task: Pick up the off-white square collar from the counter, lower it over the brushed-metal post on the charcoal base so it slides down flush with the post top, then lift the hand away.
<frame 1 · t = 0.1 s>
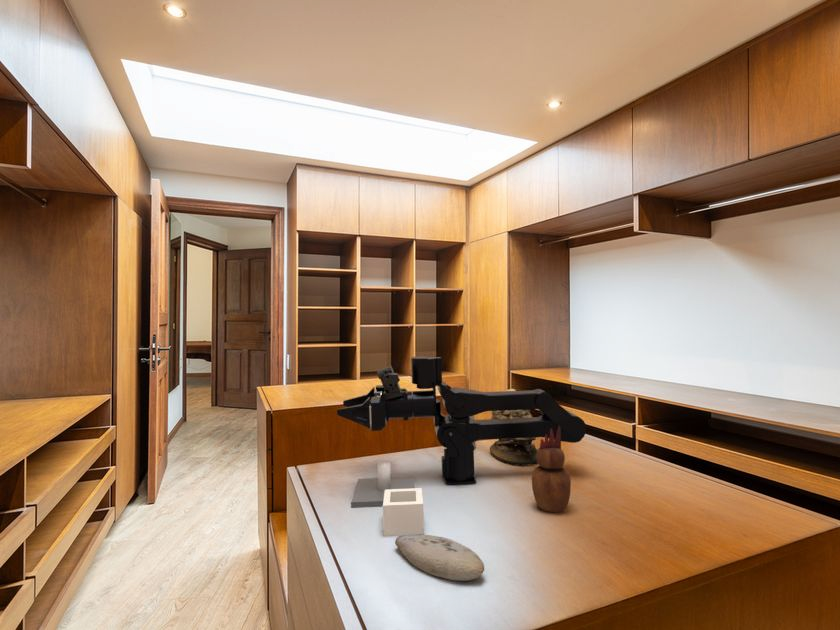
hand: (340, 407, 94), 17 cm above the closet island, tool horizontal, fingers open, 9 cm apart
decorative stone: (438, 567, 63), on the closet island
collar: (404, 525, 75), on the closet island
skincare box: (465, 451, 115), on the closet island
owl figurine: (515, 456, 110), on the closet island
wooden figurine: (551, 509, 80), on the closet island
post stand: (384, 493, 89), on the closet island
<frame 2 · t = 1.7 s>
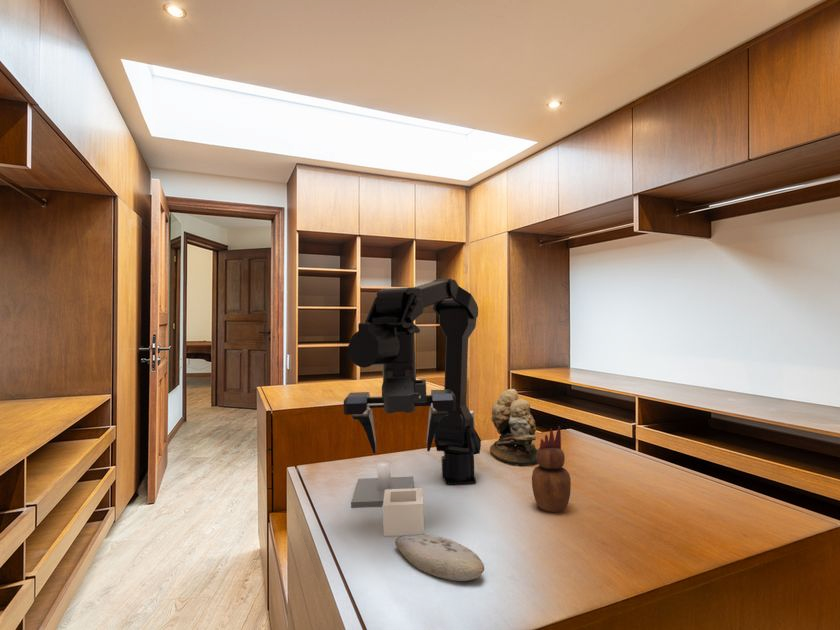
hand: (401, 451, 75), 13 cm above the closet island, tool pointing down, fingers open, 9 cm apart
nothing on the closet island moved.
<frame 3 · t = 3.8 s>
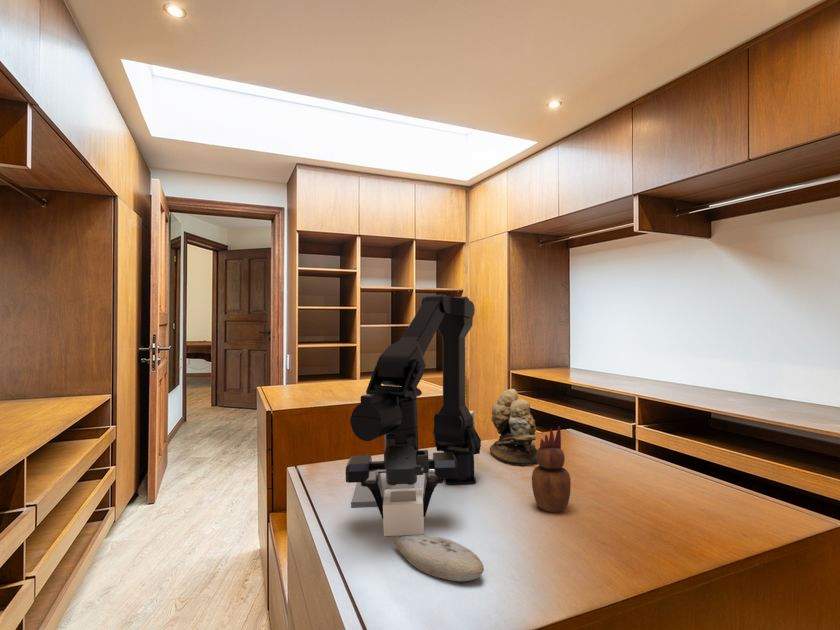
hand: (403, 516, 75), 2 cm above the closet island, tool pointing down, fingers closed on collar, 7 cm apart
collar: (403, 525, 75), on the closet island, touching gripper
everything else where it was.
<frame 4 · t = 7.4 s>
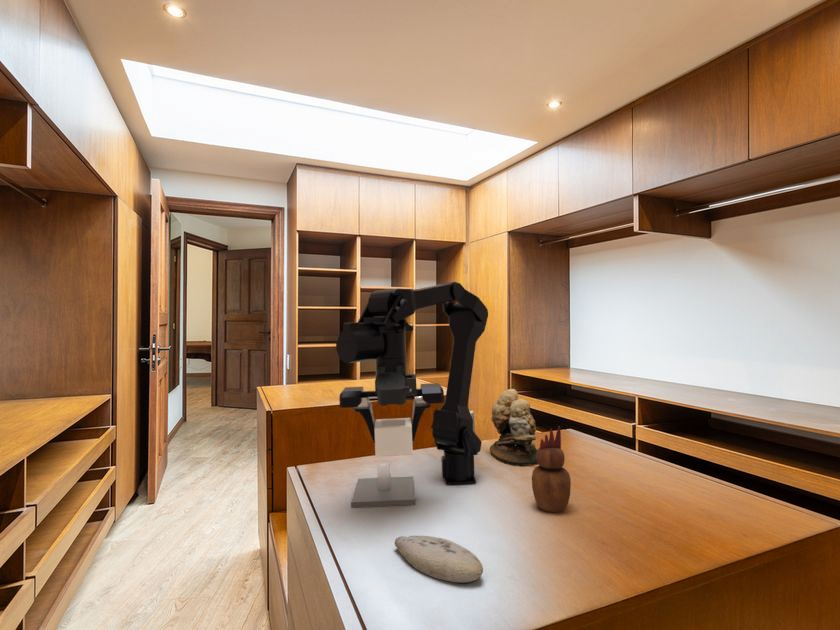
hand: (393, 441, 81), 13 cm above the closet island, tool pointing down, fingers closed on collar, 7 cm apart
collar: (394, 449, 80), point 11 cm above the closet island, touching gripper
everything else where it was.
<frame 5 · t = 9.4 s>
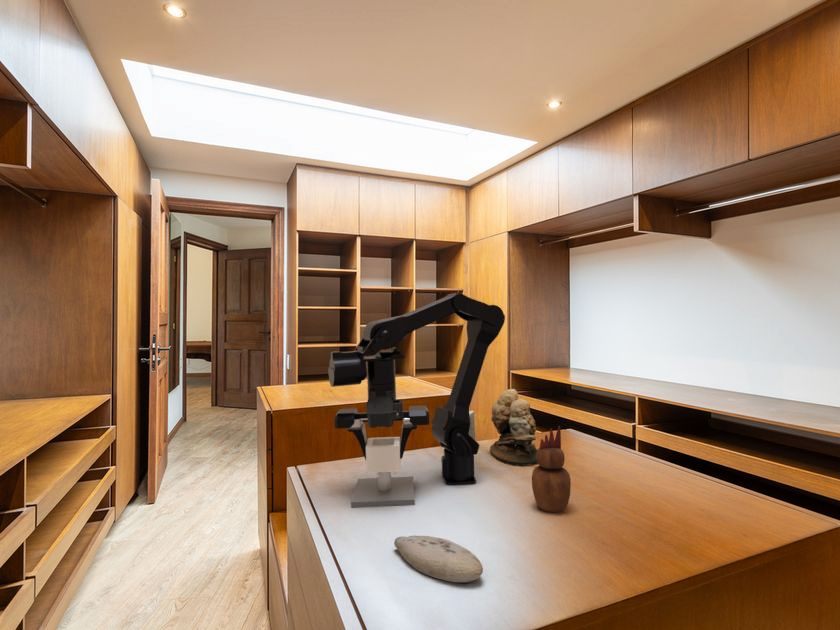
hand: (384, 458, 89), 7 cm above the closet island, tool pointing down, fingers closed on collar, 7 cm apart
collar: (384, 466, 89), point 5 cm above the closet island, touching gripper
everything else where it was.
when the fingers open (5 cm above the closet island, at t = 11.0 s): collar drops 3 cm, resting on post stand.
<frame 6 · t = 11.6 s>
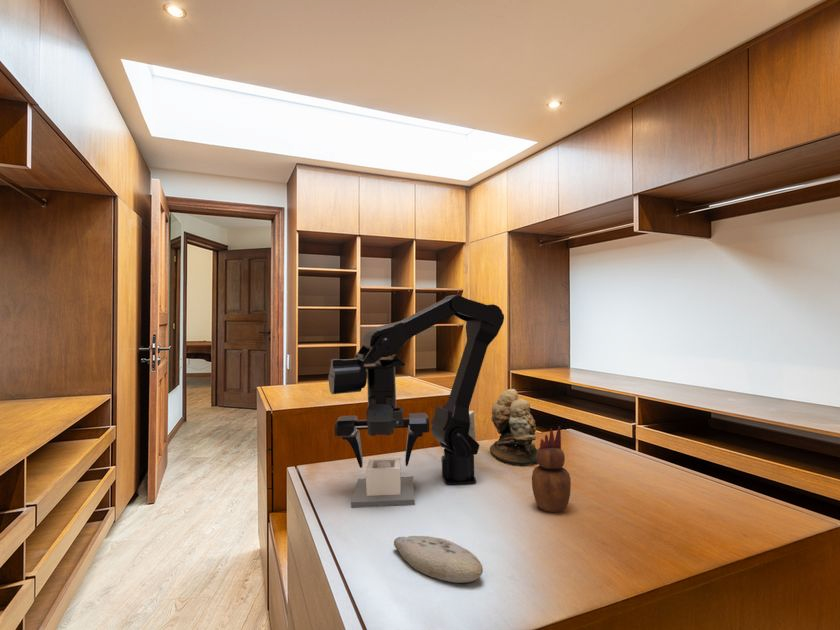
hand: (384, 466, 89), 5 cm above the closet island, tool pointing down, fingers open, 9 cm apart
collar: (384, 488, 89), point 1 cm above the closet island, touching post stand
everything else where it was.
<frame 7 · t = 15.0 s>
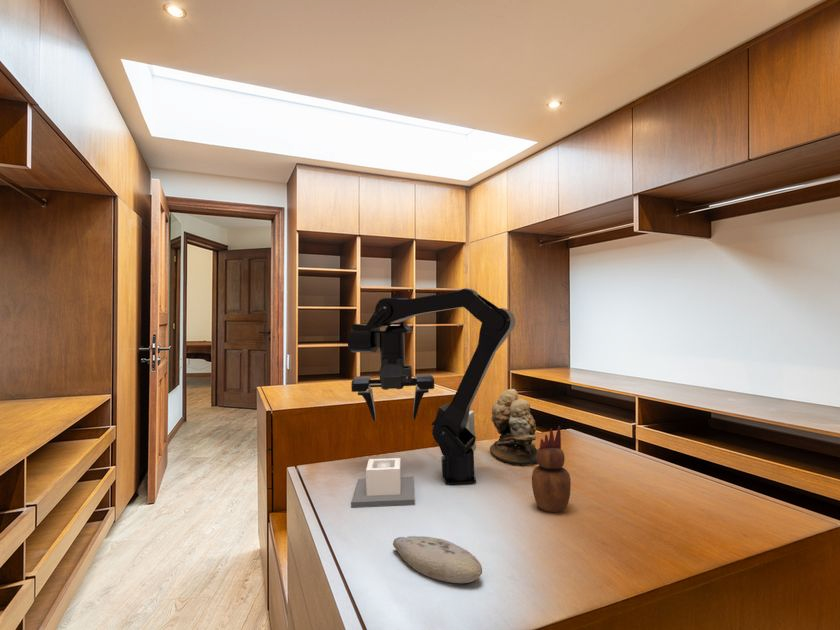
hand: (394, 420, 101), 12 cm above the closet island, tool pointing down, fingers open, 9 cm apart
nothing on the closet island moved.
at the end: collar 0.0 cm off-centre on the post stand, point 1.0 cm above the post stand's base; collar tilted 0°; the gripper is holding nothing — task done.
